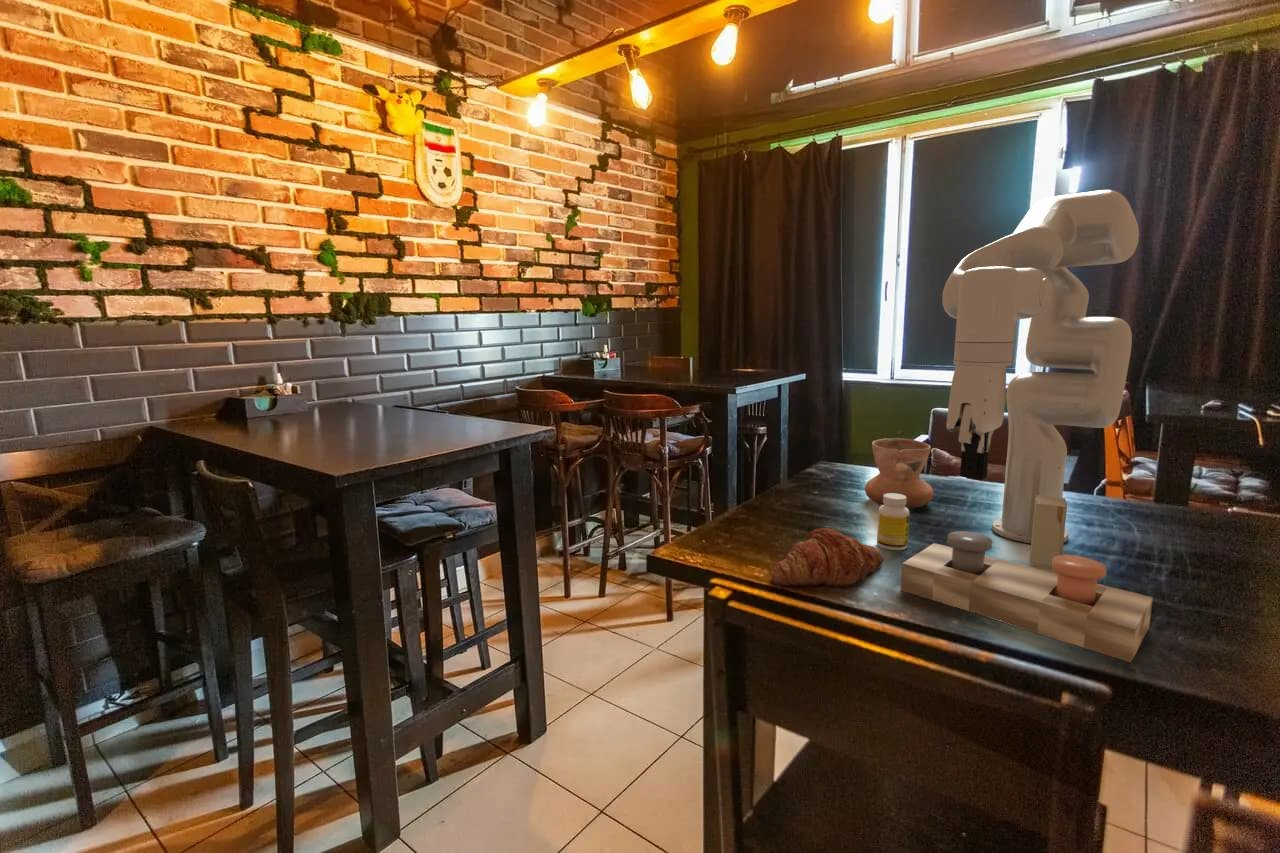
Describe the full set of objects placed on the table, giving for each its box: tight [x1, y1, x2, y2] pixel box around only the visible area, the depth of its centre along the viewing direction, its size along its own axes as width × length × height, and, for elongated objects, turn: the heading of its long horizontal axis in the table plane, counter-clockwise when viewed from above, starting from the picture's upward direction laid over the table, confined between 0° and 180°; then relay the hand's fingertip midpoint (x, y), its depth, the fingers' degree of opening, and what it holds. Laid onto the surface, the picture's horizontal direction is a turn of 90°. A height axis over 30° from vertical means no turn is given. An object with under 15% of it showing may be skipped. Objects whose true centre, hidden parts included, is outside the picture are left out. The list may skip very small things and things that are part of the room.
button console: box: [900, 542, 1154, 663], centre depth 90 cm, size 12×29×4 cm, turn 42°
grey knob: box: [947, 530, 993, 576], centre depth 94 cm, size 6×6×6 cm
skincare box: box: [1028, 495, 1068, 574], centre depth 102 cm, size 6×4×12 cm
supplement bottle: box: [876, 493, 911, 551], centre depth 114 cm, size 5×5×10 cm
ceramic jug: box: [864, 437, 935, 510], centre depth 139 cm, size 18×14×14 cm
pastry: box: [771, 527, 884, 588], centre depth 103 cm, size 17×15×8 cm
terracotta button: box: [1052, 554, 1107, 607], centre depth 84 cm, size 6×6×6 cm
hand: (973, 477), depth 92 cm, fingers closed
